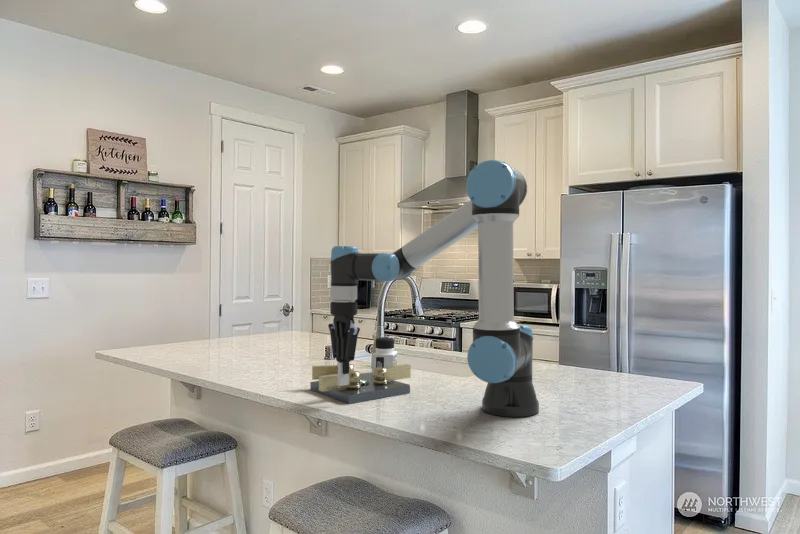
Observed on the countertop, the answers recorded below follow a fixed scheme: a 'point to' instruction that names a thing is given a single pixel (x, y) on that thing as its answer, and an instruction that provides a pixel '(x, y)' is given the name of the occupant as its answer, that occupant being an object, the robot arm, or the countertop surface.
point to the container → (384, 353)
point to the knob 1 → (332, 381)
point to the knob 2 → (391, 373)
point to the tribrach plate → (364, 390)
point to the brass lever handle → (326, 370)
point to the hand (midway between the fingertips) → (343, 384)
